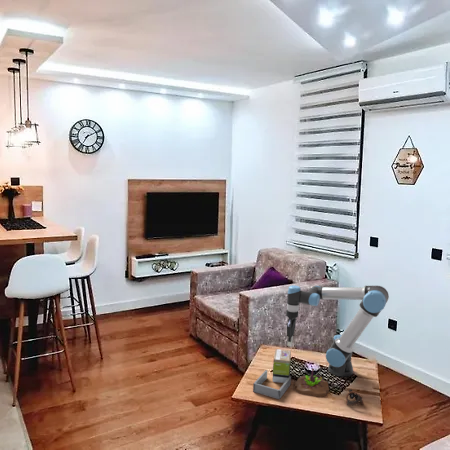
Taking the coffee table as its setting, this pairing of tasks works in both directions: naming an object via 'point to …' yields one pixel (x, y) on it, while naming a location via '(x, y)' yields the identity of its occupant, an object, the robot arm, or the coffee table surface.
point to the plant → (312, 385)
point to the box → (268, 390)
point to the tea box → (281, 365)
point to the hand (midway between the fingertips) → (289, 345)
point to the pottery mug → (352, 395)
